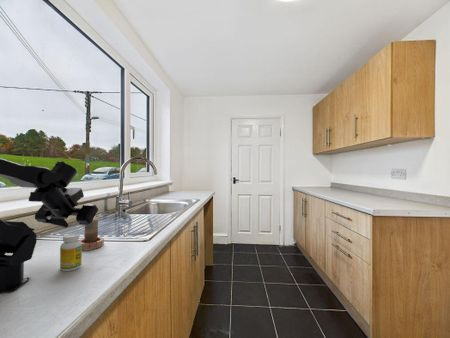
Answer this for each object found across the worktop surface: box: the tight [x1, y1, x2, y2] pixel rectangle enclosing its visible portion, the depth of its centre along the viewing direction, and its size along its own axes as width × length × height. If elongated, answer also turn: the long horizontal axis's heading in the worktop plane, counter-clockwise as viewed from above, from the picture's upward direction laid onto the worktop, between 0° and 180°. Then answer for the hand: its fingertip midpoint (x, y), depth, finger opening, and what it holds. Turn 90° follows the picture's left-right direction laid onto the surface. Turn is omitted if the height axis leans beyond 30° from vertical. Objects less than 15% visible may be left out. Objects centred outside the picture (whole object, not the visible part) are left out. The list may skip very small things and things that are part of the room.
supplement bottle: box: [59, 233, 83, 272], centre depth 70 cm, size 5×5×10 cm
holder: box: [78, 236, 105, 251], centre depth 90 cm, size 9×9×2 cm
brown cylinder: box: [83, 217, 99, 243], centre depth 90 cm, size 4×4×12 cm
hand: (79, 227), depth 84 cm, fingers open, 9 cm apart
